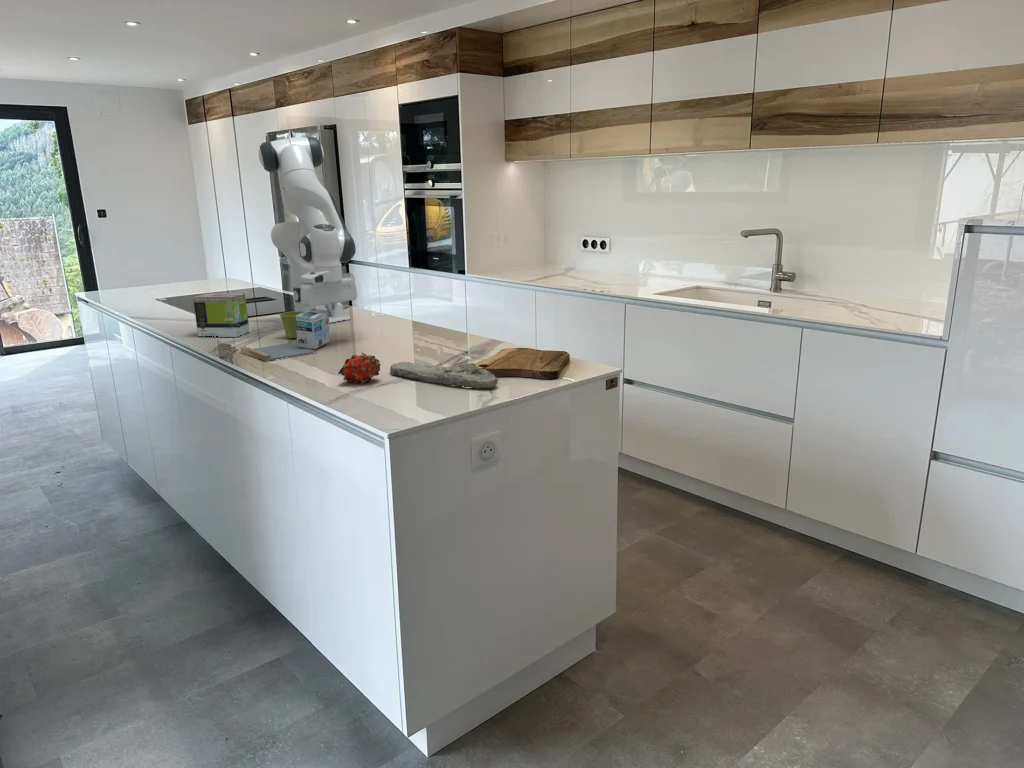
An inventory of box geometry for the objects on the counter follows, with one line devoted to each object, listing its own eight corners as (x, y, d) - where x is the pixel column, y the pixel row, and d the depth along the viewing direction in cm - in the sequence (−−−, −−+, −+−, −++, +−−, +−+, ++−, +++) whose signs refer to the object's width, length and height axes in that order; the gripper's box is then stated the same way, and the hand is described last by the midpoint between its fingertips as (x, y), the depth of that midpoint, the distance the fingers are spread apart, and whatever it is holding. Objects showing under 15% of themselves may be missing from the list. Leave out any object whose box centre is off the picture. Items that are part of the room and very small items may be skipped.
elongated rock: (405, 373, 203) (382, 383, 195) (402, 356, 202) (379, 364, 194) (506, 383, 185) (486, 393, 177) (504, 364, 184) (484, 374, 176)
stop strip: (245, 351, 225) (245, 346, 225) (271, 360, 213) (270, 355, 212) (240, 352, 224) (240, 347, 223) (266, 361, 212) (265, 355, 211)
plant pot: (301, 340, 242) (299, 316, 240) (276, 339, 244) (274, 315, 241) (313, 335, 251) (311, 311, 248) (289, 334, 253) (287, 310, 250)
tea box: (250, 332, 256) (246, 292, 253) (237, 338, 247) (232, 296, 243) (211, 332, 258) (206, 292, 254) (197, 337, 248) (191, 296, 244)
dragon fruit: (385, 384, 191) (344, 397, 186) (373, 362, 195) (332, 374, 190) (387, 365, 185) (344, 377, 180) (375, 342, 189) (332, 354, 184)
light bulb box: (315, 349, 226) (313, 317, 222) (296, 347, 227) (294, 315, 223) (330, 340, 236) (329, 309, 232) (312, 338, 237) (311, 307, 233)
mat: (289, 344, 235) (289, 342, 235) (316, 352, 223) (315, 351, 223) (246, 351, 225) (246, 349, 225) (271, 360, 213) (271, 358, 213)
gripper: (348, 271, 238) (350, 311, 242) (296, 277, 223) (299, 319, 227) (359, 272, 234) (362, 313, 238) (307, 278, 219) (311, 322, 223)
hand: (331, 316), depth 232 cm, fingers closed, pressing on light bulb box
